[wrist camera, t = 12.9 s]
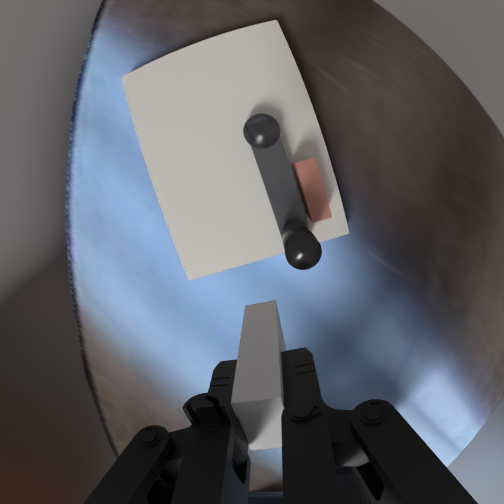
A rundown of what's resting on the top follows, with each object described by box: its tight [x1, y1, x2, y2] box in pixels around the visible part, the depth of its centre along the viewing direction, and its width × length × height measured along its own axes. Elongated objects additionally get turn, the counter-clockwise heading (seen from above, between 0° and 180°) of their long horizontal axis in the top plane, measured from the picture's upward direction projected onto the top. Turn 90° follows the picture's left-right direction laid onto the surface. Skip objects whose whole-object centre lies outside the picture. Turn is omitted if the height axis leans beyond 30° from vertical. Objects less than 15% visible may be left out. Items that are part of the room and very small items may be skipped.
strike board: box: [121, 20, 349, 280], centre depth 28 cm, size 26×19×5 cm
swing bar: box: [243, 113, 322, 270], centre depth 25 cm, size 14×4×8 cm, turn 19°
